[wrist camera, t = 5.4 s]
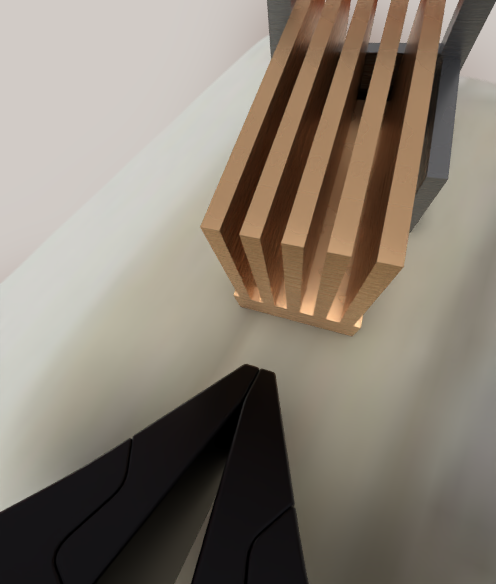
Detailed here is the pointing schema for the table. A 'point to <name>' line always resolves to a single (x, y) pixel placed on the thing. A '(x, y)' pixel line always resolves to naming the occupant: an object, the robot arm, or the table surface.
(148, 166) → the table surface
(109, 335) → the table surface
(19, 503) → the robot arm
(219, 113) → the table surface
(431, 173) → the grey open frame
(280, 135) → the heat-sink block
